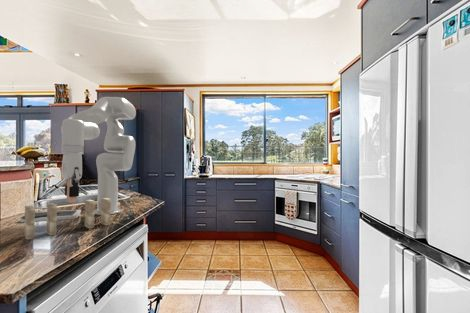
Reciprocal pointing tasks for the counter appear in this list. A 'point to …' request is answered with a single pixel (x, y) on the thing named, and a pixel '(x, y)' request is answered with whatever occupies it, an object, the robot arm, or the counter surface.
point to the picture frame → (60, 215)
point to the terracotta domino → (69, 199)
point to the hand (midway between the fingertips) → (71, 195)
